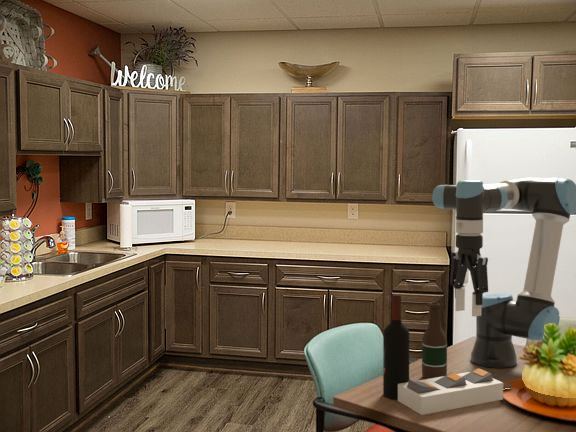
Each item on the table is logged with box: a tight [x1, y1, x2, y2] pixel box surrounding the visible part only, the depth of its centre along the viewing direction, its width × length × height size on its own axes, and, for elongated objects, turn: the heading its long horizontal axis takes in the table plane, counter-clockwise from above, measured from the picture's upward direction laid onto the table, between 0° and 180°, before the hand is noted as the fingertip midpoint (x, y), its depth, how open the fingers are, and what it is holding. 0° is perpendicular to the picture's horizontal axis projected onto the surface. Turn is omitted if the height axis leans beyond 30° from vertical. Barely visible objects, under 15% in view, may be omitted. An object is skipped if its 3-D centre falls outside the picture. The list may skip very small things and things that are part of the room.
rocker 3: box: [462, 367, 493, 384], centre depth 198 cm, size 6×6×2 cm
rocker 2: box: [435, 372, 466, 389], centre depth 194 cm, size 6×6×2 cm
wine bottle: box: [382, 293, 410, 401], centre depth 198 cm, size 8×8×30 cm
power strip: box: [397, 371, 513, 416], centre depth 196 cm, size 36×12×5 cm, turn 113°
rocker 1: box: [407, 378, 439, 393], centre depth 191 cm, size 6×6×2 cm
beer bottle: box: [421, 301, 448, 379], centre depth 214 cm, size 8×8×24 cm
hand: (468, 312), depth 195 cm, fingers open, 7 cm apart
